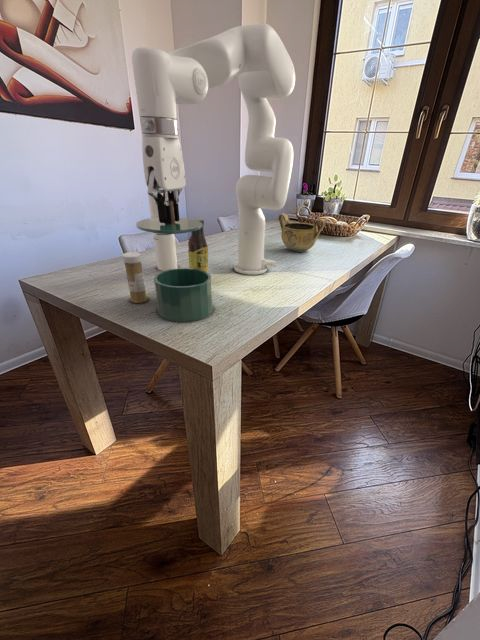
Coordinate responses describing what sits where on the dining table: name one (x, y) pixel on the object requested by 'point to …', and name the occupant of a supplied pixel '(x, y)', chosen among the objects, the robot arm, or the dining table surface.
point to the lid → (173, 228)
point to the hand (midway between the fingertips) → (169, 221)
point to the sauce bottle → (198, 249)
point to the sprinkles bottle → (135, 276)
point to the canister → (183, 294)
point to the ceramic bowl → (299, 234)
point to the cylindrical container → (163, 243)
